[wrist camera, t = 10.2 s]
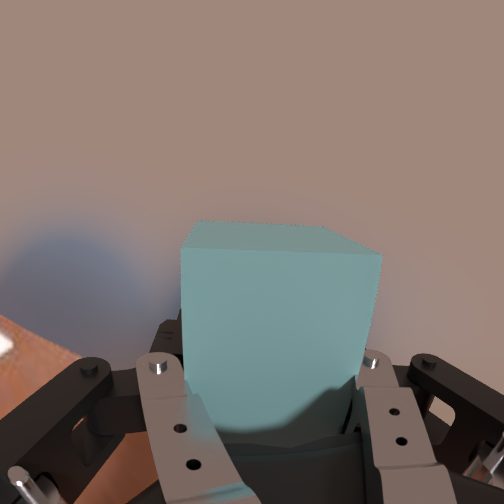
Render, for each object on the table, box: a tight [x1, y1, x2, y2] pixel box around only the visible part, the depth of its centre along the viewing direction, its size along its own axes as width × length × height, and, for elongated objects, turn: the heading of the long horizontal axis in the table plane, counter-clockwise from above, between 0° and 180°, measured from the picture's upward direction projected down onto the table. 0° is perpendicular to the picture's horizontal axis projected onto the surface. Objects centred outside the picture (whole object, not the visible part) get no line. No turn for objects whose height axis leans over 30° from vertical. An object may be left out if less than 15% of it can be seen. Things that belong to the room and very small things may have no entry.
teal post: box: [181, 221, 383, 448], centre depth 10 cm, size 4×4×11 cm
